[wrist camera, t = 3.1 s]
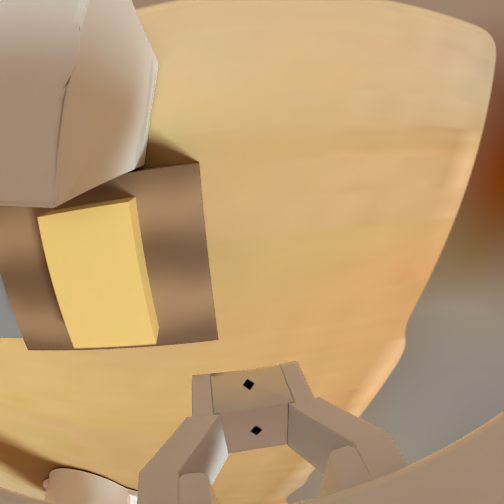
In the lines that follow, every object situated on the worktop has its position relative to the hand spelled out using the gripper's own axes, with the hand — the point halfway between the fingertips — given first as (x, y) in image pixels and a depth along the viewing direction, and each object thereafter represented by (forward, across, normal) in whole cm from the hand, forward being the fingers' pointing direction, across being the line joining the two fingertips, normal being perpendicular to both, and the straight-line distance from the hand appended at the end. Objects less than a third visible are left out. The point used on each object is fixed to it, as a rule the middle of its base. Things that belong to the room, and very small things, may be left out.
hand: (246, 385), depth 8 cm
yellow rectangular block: (+12, -8, 0) cm, 14 cm away
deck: (+16, -9, 0) cm, 18 cm away
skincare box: (+16, -7, +10) cm, 20 cm away
